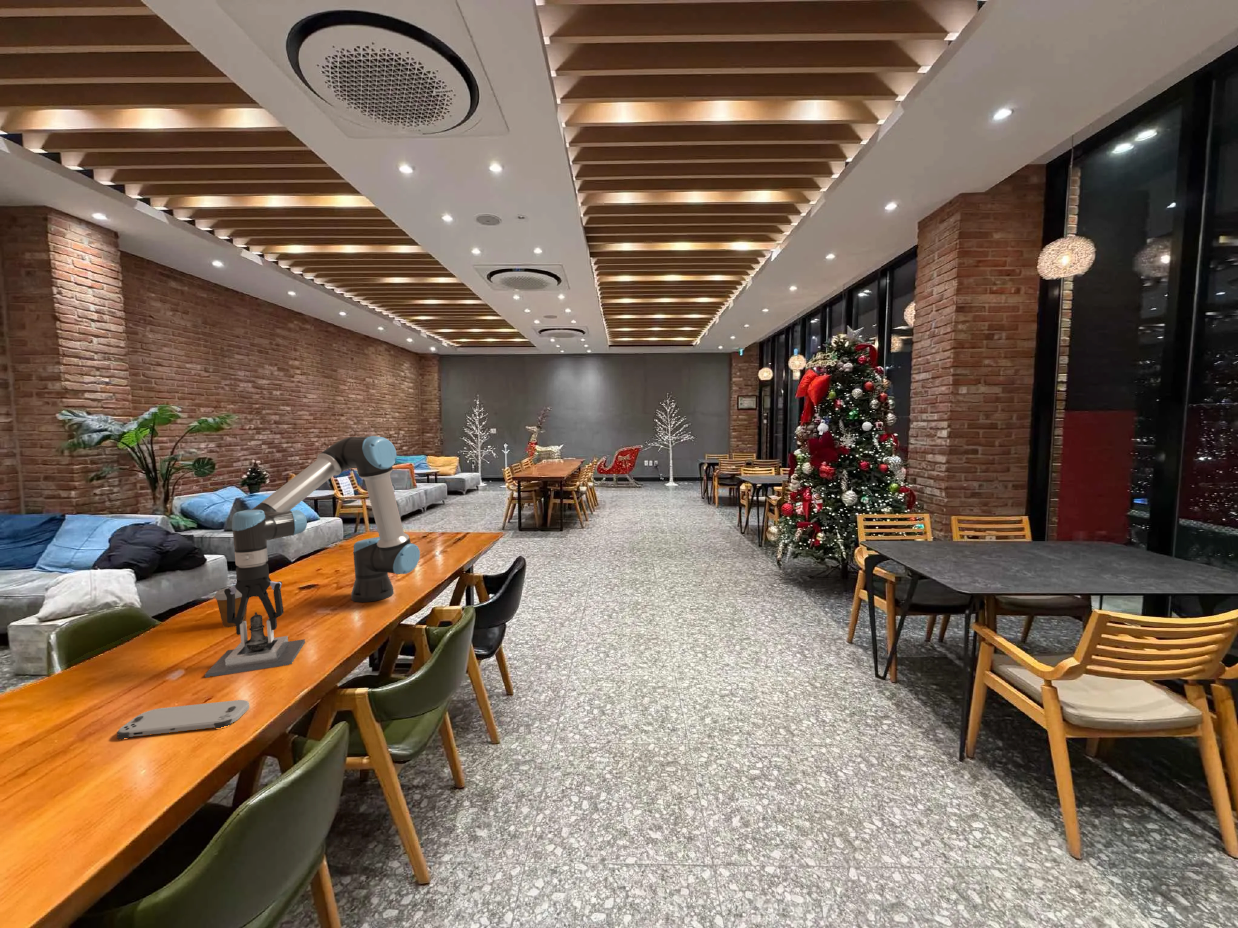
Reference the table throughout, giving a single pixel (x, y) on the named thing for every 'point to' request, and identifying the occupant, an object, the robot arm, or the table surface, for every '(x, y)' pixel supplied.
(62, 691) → the table surface
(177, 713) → the handheld gaming console
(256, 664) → the collar plate
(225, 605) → the disposable coffee cup
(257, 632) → the dark grey chess piece
